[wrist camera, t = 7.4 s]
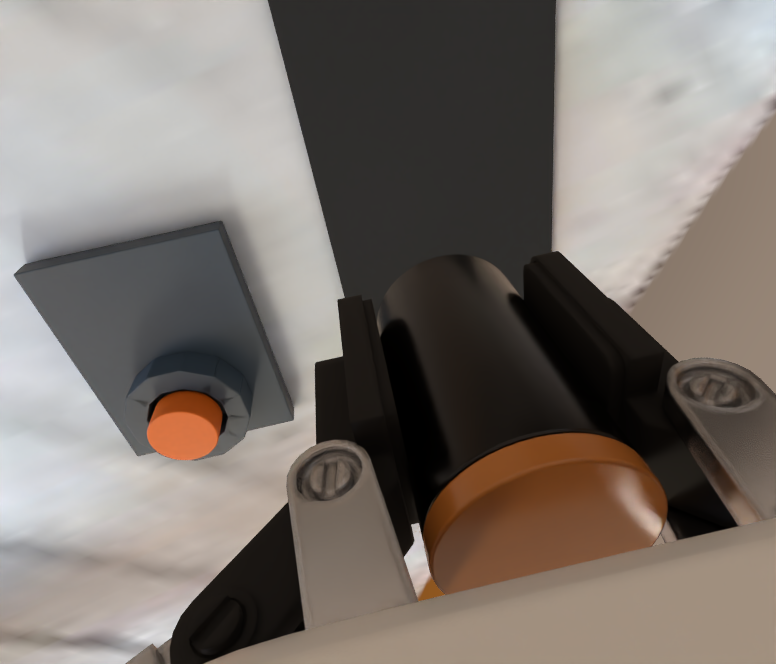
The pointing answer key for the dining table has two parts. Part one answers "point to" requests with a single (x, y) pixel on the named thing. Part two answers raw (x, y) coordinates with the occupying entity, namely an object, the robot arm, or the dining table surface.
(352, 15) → the desk pad
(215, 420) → the button
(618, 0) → the dining table surface
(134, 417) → the grey button base
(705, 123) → the dining table surface
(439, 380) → the battery
